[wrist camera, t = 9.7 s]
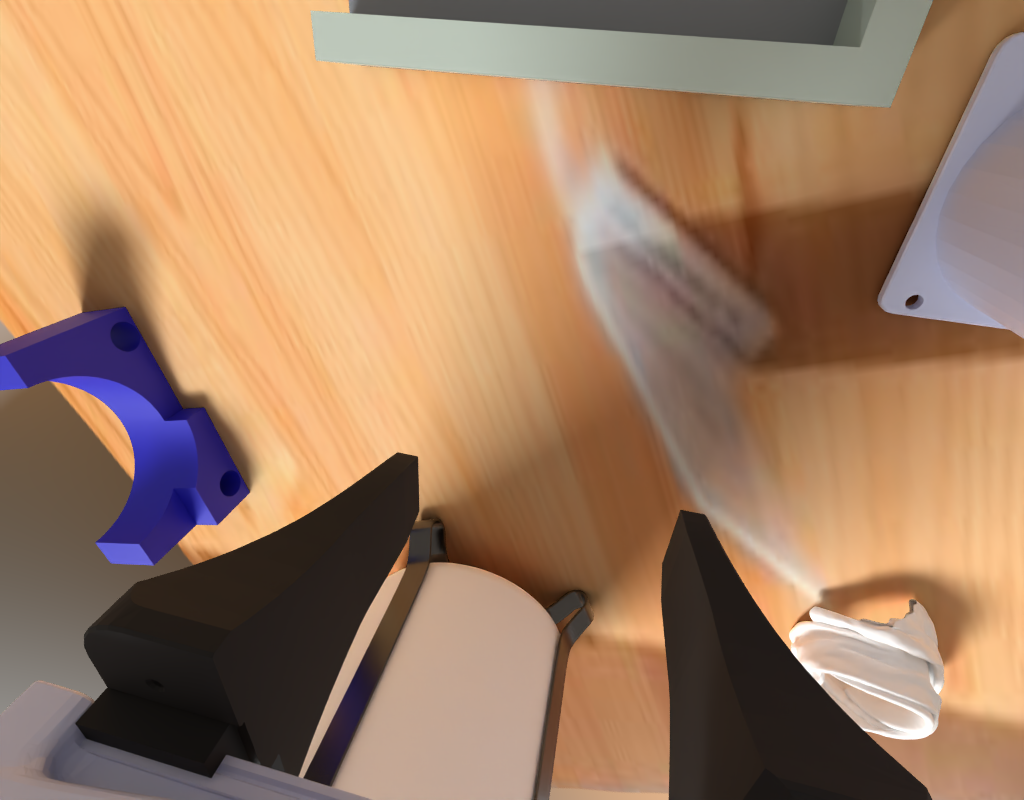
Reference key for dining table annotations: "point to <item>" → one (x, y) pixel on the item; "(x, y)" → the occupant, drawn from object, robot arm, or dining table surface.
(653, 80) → the corner tray
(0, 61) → the dining table surface
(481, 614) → the coffee press
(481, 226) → the dining table surface
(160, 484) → the cable clip
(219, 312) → the dining table surface
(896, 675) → the whipped cream
